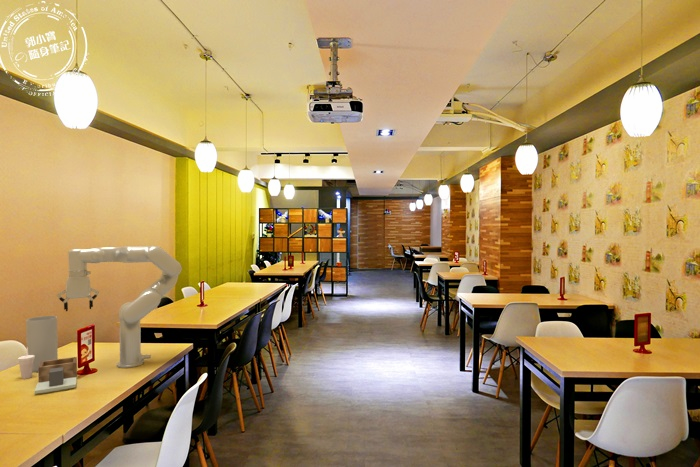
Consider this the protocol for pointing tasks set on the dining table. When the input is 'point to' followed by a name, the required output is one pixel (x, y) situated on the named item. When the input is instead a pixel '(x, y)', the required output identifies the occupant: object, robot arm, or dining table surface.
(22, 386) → the dining table surface
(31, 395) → the dining table surface
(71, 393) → the dining table surface
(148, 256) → the robot arm
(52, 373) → the lid
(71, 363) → the wooden box
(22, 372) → the smoothie
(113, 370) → the dining table surface
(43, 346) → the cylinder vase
